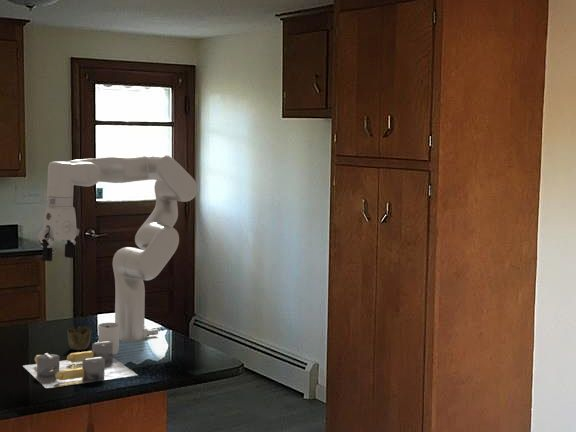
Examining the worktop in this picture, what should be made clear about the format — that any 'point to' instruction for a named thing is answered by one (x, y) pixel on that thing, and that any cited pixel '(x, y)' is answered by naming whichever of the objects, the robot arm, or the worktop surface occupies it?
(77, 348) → the cup
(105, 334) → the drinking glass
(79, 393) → the worktop surface
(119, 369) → the plate
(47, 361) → the knob
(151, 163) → the robot arm
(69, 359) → the knob
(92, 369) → the knob left
